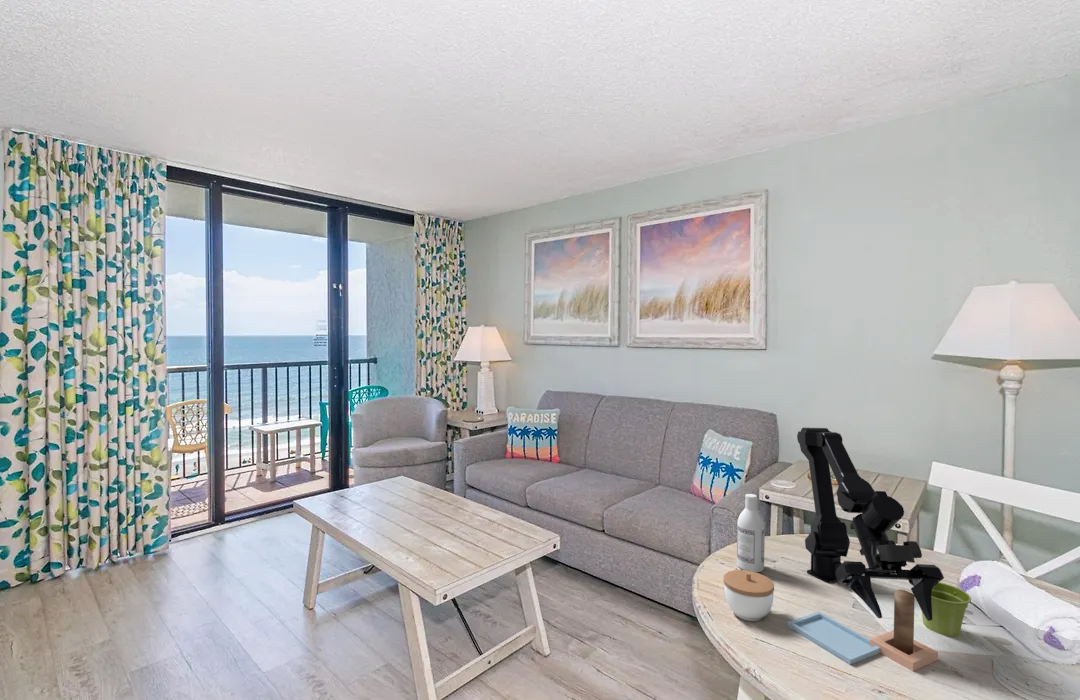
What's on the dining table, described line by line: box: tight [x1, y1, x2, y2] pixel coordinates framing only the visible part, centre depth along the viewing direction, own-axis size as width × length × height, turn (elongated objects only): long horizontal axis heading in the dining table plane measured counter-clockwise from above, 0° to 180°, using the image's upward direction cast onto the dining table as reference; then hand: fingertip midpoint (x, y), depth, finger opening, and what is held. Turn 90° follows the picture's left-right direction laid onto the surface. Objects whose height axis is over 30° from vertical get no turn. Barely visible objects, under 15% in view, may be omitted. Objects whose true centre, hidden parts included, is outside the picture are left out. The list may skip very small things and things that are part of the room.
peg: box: [893, 589, 916, 655], centre depth 99 cm, size 3×3×12 cm
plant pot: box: [921, 581, 972, 637], centre depth 108 cm, size 9×9×9 cm
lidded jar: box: [723, 569, 775, 622], centre depth 114 cm, size 11×11×9 cm
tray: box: [786, 611, 881, 666], centre depth 104 cm, size 14×10×2 cm
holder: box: [869, 629, 939, 672], centre depth 99 cm, size 8×8×2 cm
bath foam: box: [736, 493, 766, 573], centre depth 137 cm, size 7×7×20 cm
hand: (905, 619), depth 99 cm, fingers open, 9 cm apart
